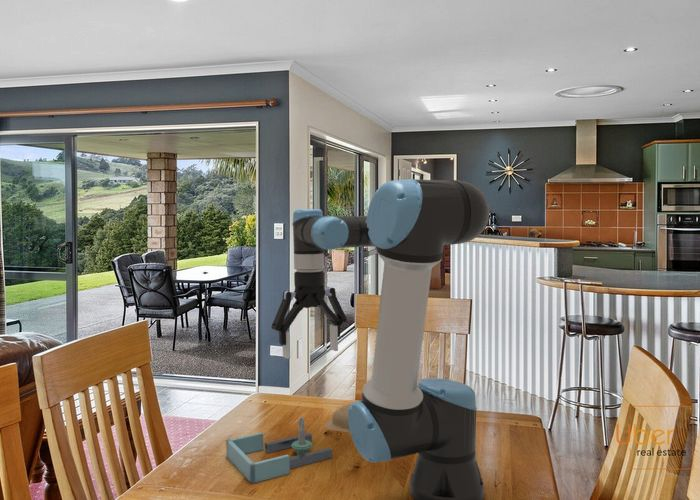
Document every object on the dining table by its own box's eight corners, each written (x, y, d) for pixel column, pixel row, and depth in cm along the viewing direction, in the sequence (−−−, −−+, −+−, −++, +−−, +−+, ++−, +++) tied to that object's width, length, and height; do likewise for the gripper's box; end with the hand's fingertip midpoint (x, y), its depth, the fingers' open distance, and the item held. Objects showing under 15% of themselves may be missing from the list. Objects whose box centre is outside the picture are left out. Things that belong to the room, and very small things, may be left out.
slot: (332, 457, 138) (332, 449, 137) (285, 470, 131) (285, 461, 131) (309, 440, 148) (309, 432, 148) (265, 451, 142) (265, 443, 142)
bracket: (289, 473, 130) (289, 456, 129) (251, 483, 125) (250, 465, 125) (262, 448, 143) (261, 432, 143) (226, 456, 139) (226, 440, 138)
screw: (316, 451, 141) (304, 459, 137) (299, 447, 144) (287, 455, 139) (315, 415, 140) (303, 422, 136) (299, 411, 143) (286, 418, 139)
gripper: (343, 266, 156) (345, 344, 158) (256, 272, 143) (259, 357, 145) (358, 268, 150) (360, 349, 151) (269, 275, 137) (271, 364, 138)
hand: (310, 353), depth 148 cm, fingers open, 13 cm apart
